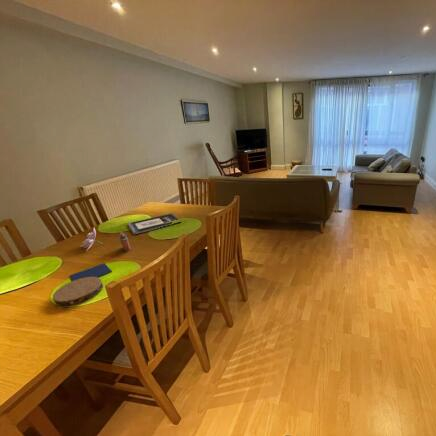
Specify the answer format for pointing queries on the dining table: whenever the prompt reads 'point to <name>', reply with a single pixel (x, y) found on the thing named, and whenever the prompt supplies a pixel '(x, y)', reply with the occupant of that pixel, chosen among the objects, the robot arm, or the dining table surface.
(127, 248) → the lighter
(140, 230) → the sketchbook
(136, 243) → the dining table surface
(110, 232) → the dining table surface
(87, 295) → the brown round disc
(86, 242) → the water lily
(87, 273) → the cloth
